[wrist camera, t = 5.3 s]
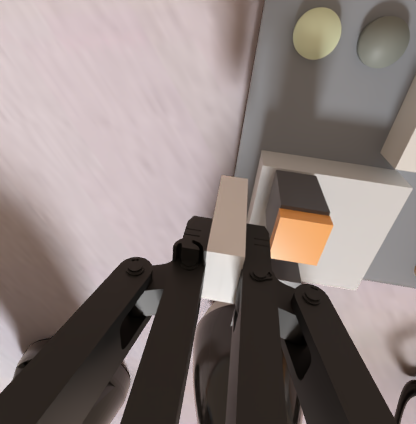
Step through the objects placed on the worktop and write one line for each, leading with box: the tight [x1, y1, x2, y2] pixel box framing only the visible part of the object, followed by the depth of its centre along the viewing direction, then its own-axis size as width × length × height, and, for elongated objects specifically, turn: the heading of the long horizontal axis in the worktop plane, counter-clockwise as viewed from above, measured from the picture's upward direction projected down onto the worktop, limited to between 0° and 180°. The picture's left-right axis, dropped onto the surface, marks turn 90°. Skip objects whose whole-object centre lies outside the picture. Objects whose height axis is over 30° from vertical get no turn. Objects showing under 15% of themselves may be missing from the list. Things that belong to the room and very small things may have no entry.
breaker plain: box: [271, 258, 302, 289], centre depth 20 cm, size 2×3×4 cm
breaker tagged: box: [265, 170, 334, 266], centre depth 17 cm, size 2×3×5 cm
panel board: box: [234, 0, 416, 291], centre depth 20 cm, size 20×20×4 cm
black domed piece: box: [193, 301, 303, 424], centre depth 25 cm, size 10×10×15 cm
